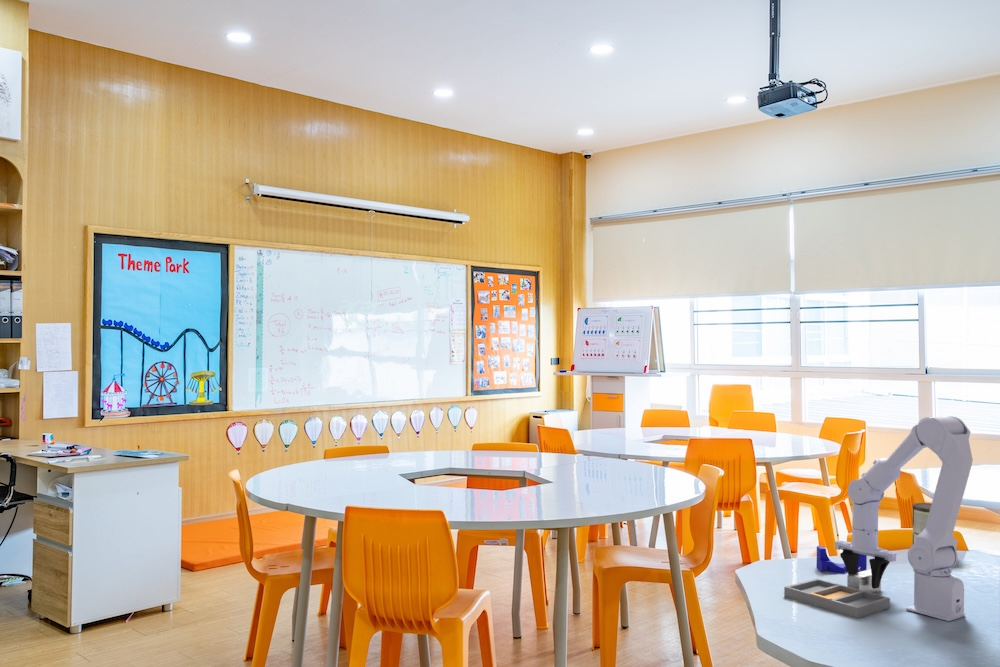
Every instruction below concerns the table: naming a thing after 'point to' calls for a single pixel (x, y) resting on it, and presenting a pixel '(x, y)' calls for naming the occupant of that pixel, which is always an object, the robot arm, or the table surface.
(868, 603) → the bay rack
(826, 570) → the blue arch block
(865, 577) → the light grey rectangular block
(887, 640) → the table surface
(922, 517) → the coffee can
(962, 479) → the robot arm
